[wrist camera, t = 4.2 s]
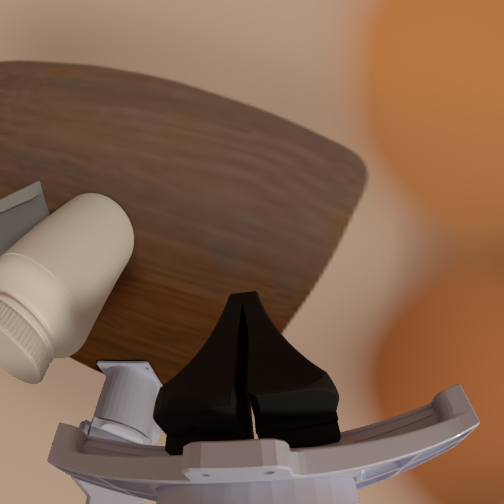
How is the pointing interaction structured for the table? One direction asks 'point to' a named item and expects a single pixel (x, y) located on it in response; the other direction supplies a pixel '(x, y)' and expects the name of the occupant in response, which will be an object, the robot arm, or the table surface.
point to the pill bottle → (60, 282)
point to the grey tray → (21, 214)
